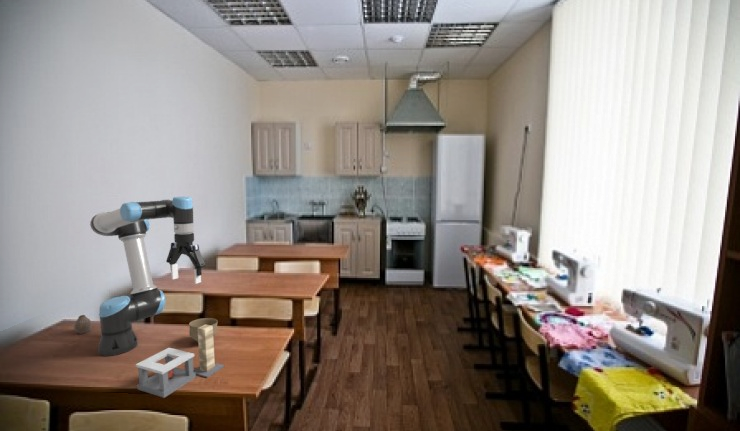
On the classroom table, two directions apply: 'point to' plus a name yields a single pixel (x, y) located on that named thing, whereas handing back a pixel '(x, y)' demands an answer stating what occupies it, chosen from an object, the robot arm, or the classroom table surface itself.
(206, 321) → the bowl
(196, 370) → the pad
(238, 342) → the classroom table surface
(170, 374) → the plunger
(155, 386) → the grey open box frame
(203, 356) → the light wooden bar
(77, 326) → the brown rounded lump
